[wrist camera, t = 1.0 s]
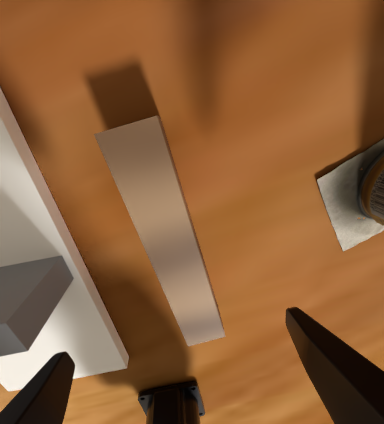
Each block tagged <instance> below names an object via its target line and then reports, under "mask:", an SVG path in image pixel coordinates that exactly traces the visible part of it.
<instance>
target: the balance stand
mask: <svg viewBox="0 0 384 424" xmlns="http://www.w3.org/2000/svg"><path fill="white" fill-rule="evenodd" d="M65 351H66V352H68V354H69V355H70V357H71V358H72V360H73V361H74V363H75V371H74V376H73V379H75V378H80V377H85V376H91V375H96V374H101V373H106V372H111V371H116V370H121V369H126V368H127V366H128V360H129V356H128V354H127V352H126V349H125V347H124V345H123V343H122V341H121V339H120V337H119V335H118V333H117V331H116V328H115V326H114V324H113V322H112V320H111V318H110V316H109V314H108V312H107V310H106V308H105V305H104V303H103V301H102V299H101V297H100V295H99V293H98V291H97V289H96V287H95V285H94V282H93V280H92V278H91V276H90V274H89V272H88V270H87V268H86V266H85V264H84V261H83V259H82V257H81V255H80V253H79V251H78V249H77V247H76V245H75V243H74V241H73V238H72V236H71V234H70V232H69V230H68V228H67V226H66V224H65V222H64V220H63V218H62V215H61V213H60V211H59V209H58V207H57V205H56V203H55V201H54V199H53V197H52V195H51V192H50V190H49V188H48V186H47V184H46V182H45V180H44V178H43V176H42V174H41V171H40V169H39V167H38V165H37V163H36V161H35V159H34V157H33V155H32V153H31V151H30V148H29V146H28V144H27V142H26V140H25V138H24V136H23V134H22V132H21V130H20V128H19V125H18V123H17V121H16V119H15V117H14V115H13V113H12V111H11V109H10V107H9V104H8V102H7V100H6V98H5V96H4V94H3V92H2V90H1V88H0V383H1V384H2V385H3V386H4V387H5V388H6V389H7V390H8V391H14V390H19V389H23V387H24V386H25V385H26V384H27V383H28V382H29V381H30V380H31V379H32V378H33V377H34V376H35V374H36V373H37V372H38V371H39V370H40V369H41V368H42V367H43V366H44V365H45V364H46V363H47V361H48V360H49V359H50V358H51V357H52V356H53V355H54V354H56V353H59V352H65Z"/></svg>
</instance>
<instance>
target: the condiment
mask: <svg viewBox="0 0 384 424" xmlns="http://www.w3.org/2000/svg"><path fill="white" fill-rule="evenodd" d="M361 168H362V170H360V169H361ZM317 182H318V185H319V188H320V192H321V195H322V198H323V201H324V203H325V206H326V209H327V212H328V215H329V217H330V219H331V223H332V226H333V228H334V230H335V232H336V235H337V238H338V240H339V242H340V245H341V247H342V250H343V251H345V250H347V249H349V248H352V247H354V246H355V245H357V244H358V243H360V242H362V241H365V240H367V239H369V238H370V237H372V236H374V235H375V234H378V233H380V232H382V231H383V230H384V139H382V140H381V141H380V142H378V143H377V144H374V145H373V146H372V147H370V148H369V149H368V150H366V151H365V152H363V153H360V154H359V155H357V156H355V157H354V158H352V159H350V160H348V161H346V162H345V163H343V164H342V165H340V166H338V167H337V168H336V169H334V170H333V171H332V172H330V173H328V174H326V175H324V176H323V177H321V178H319V179H318V180H317ZM358 217H360V218H361V219H357V218H358ZM363 217H365V219H363Z"/></svg>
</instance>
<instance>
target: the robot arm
mask: <svg viewBox="0 0 384 424" xmlns="http://www.w3.org/2000/svg"><path fill="white" fill-rule="evenodd" d="M286 326H287V329H288V331H289V334H290V336H291V338H292V340H293V343H294V345H295V347H296V350H297V352H298V354H299V357H300V359H301V361H302V363H303V366H304V368H305V370H306V372H307V374H308V376H309V378H310V380H311V381H312V383H313V385H314V387H315V389H316V391H317V392H318V394H319V396H320V398H321V400H322V402H323V403H324V405H325V407H326V409H327V411H328V413H329V414H330V416H331V418H332V420H333V422H334V424H384V371H382V370H381V369H380V368H378V367H377V366H376V365H374V364H373V363H372V362H370V361H369V360H368V359H366V358H365V357H364V356H362V355H361V354H360V353H358V352H357V351H356V350H354V349H353V348H352V347H350V346H349V345H347V344H346V343H345V342H343V341H342V340H341V339H339V338H338V337H337V336H335V335H334V334H333V333H331V332H330V331H329V330H327V329H326V328H325V327H323V326H322V325H321V324H319V323H318V322H317V321H315V320H314V319H313V318H311V317H310V316H309V315H307V314H306V313H304V312H303V311H302V310H300V309H299V308H297V307H291V308H287V309H286ZM74 371H75V363H74V361H73V360H72V358H71V357H70V355H69V354H68V352H66V351H65V352H59V353H56V354H54V355H53V356H52V357H51V358H50V359H49V360H48V361H47V363H46V364H45V365H44V366H43V367H42V368H41V369H40V370H39V371H38V372H37V373H36V374H35V376H34V377H33V378H32V379H31V380H30V381H29V382H28V383H27V384H26V385H25V386H24V387H23V389H22V390H21V391H20V392H19V393H18V394H17V395H16V396H15V397H14V398H13V399H12V400H11V401H10V403H9V404H8V405H7V406H6V407H5V408H4V409H3V410H2V411H1V412H0V424H62V423H63V419H64V415H65V411H66V407H67V403H68V398H69V394H70V389H71V385H72V380H73V376H74ZM138 401H139V403H140V404H141V406H142V408H143V410H144V412H145V414H146V416H147V419H146V424H200V417H199V416H203V415H204V414H205V409H204V405H203V402H202V398H201V395H200V391H199V387H198V384H197V382H189V383H184V384H179V385H174V386H169V387H164V388H159V389H153V390H148V391H143V392H140V393H139V394H138Z"/></svg>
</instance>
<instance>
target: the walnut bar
mask: <svg viewBox="0 0 384 424" xmlns="http://www.w3.org/2000/svg"><path fill="white" fill-rule="evenodd" d="M94 135H95V138H96V140H97V142H98V144H99V147H100V149H101V151H102V153H103V156H104V158H105V160H106V162H107V165H108V167H109V169H110V171H111V174H112V176H113V178H114V180H115V183H116V185H117V187H118V189H119V192H120V194H121V196H122V198H123V201H124V203H125V205H126V207H127V210H128V212H129V214H130V217H131V219H132V221H133V223H134V226H135V228H136V230H137V232H138V235H139V237H140V239H141V241H142V244H143V246H144V248H145V250H146V253H147V255H148V257H149V259H150V262H151V264H152V266H153V268H154V271H155V273H156V275H157V277H158V280H159V282H160V284H161V286H162V289H163V291H164V293H165V295H166V298H167V300H168V302H169V304H170V307H171V309H172V311H173V313H174V316H175V318H176V320H177V322H178V325H179V327H180V329H181V331H182V334H183V336H184V338H185V340H186V343H187V345H188V346H192V345H196V344H199V343H203V342H207V341H211V340H214V339H218V338H222V337H225V333H224V329H223V325H222V321H221V317H220V313H219V309H218V305H217V302H216V299H215V295H214V292H213V289H212V285H211V282H210V279H209V276H208V272H207V269H206V266H205V262H204V259H203V256H202V253H201V249H200V246H199V243H198V239H197V236H196V233H195V230H194V226H193V223H192V220H191V216H190V213H189V210H188V207H187V203H186V200H185V197H184V193H183V190H182V187H181V184H180V180H179V177H178V174H177V170H176V167H175V164H174V160H173V157H172V154H171V151H170V147H169V144H168V141H167V137H166V134H165V131H164V128H163V124H162V121H161V118H160V117H159V116H153V117H150V118H147V119H143V120H140V121H137V122H133V123H130V124H127V125H123V126H120V127H117V128H113V129H110V130H107V131H103V132H100V133H97V134H94Z"/></svg>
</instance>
